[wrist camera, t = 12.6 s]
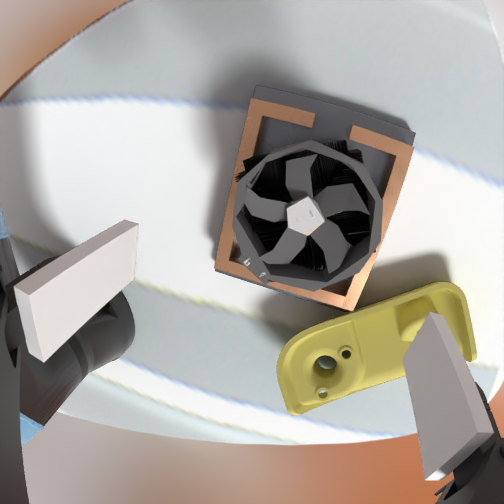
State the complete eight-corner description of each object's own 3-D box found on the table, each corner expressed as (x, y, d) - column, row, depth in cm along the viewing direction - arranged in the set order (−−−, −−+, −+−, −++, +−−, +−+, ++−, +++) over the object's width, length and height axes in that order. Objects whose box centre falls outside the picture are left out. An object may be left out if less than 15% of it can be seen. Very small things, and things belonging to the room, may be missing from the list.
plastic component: (459, 274, 25) (479, 371, 23) (440, 275, 32) (458, 354, 30) (265, 338, 30) (291, 427, 29) (281, 327, 37) (303, 402, 36)
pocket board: (218, 266, 33) (208, 278, 30) (258, 86, 25) (251, 82, 23) (349, 306, 31) (350, 323, 29) (412, 132, 24) (421, 133, 21)
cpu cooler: (371, 130, 17) (390, 283, 20) (361, 130, 22) (379, 252, 25) (210, 161, 20) (247, 300, 23) (234, 154, 25) (262, 267, 28)
